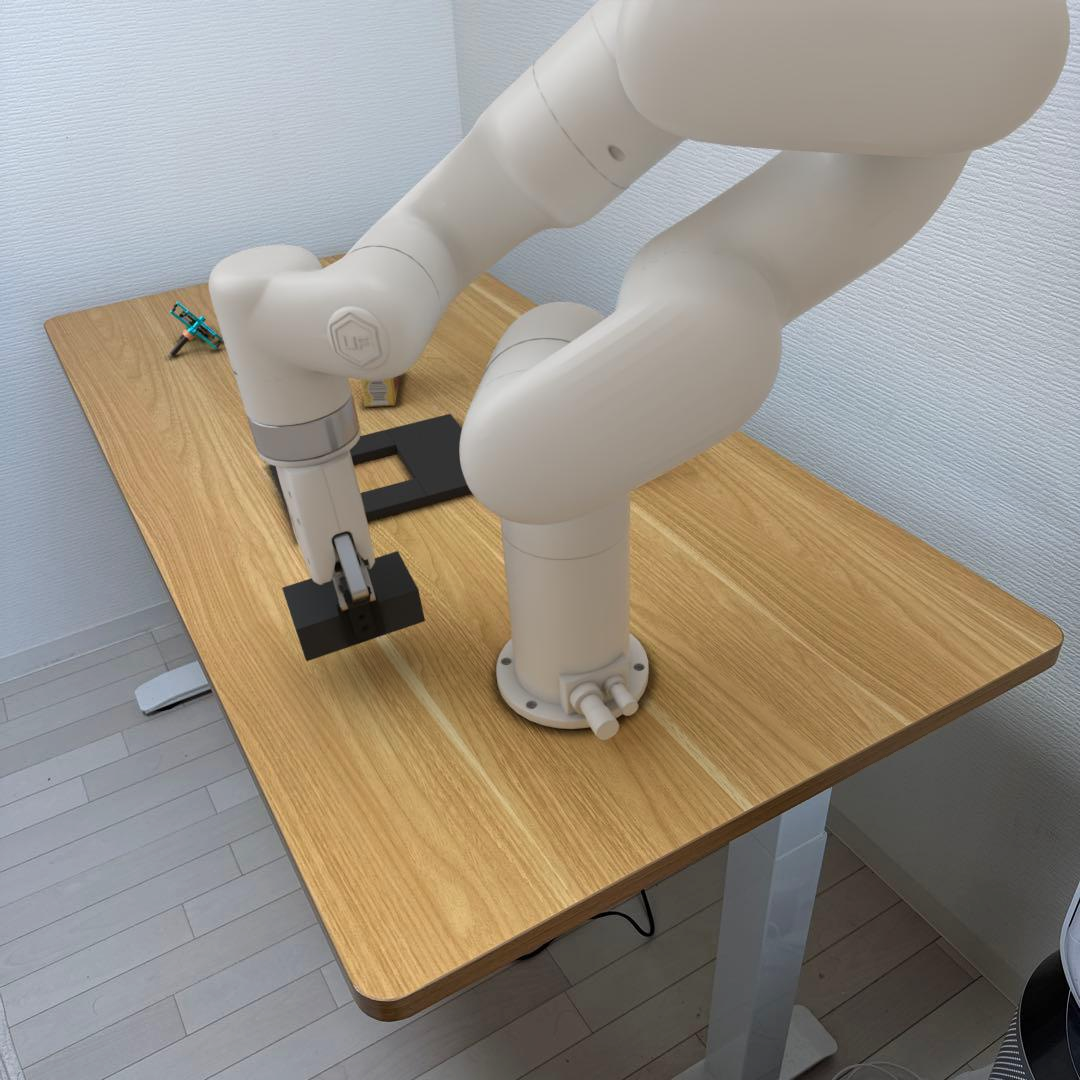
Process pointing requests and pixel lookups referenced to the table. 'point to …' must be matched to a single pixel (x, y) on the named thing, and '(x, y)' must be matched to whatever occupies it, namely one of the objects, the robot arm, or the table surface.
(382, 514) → the black rectangular frame
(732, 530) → the table surface
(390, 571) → the loose black block
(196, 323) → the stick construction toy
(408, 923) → the table surface
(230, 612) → the table surface
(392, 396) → the candy box
